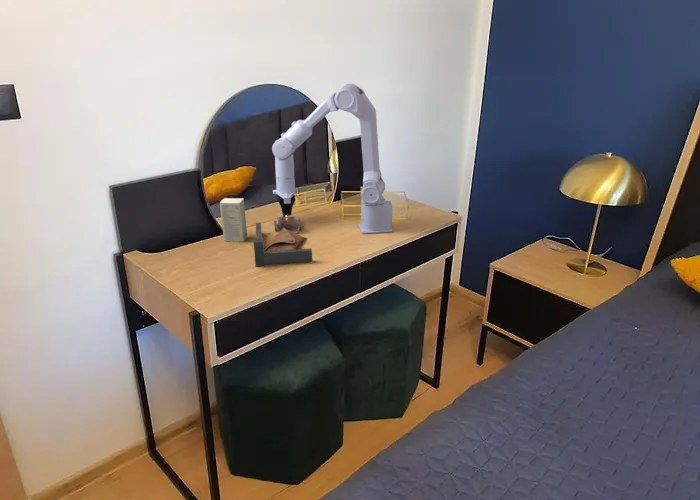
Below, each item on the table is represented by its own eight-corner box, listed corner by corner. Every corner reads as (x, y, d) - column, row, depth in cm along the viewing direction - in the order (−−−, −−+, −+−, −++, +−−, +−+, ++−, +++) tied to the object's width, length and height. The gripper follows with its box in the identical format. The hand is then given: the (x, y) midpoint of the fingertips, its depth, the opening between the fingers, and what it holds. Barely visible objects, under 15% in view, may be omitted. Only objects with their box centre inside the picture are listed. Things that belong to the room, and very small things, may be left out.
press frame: (303, 222, 182) (302, 202, 179) (312, 263, 154) (311, 239, 151) (254, 225, 180) (253, 204, 177) (255, 266, 151) (253, 242, 149)
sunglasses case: (292, 262, 154) (279, 241, 152) (272, 272, 156) (258, 252, 155) (307, 237, 170) (296, 218, 169) (288, 247, 173) (277, 229, 171)
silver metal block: (298, 229, 176) (297, 213, 174) (298, 232, 173) (298, 216, 171) (278, 230, 175) (277, 214, 173) (279, 233, 172) (278, 217, 170)
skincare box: (247, 236, 171) (244, 198, 166) (243, 242, 167) (240, 203, 162) (227, 235, 172) (223, 197, 167) (222, 241, 168) (219, 202, 163)
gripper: (271, 171, 181) (273, 211, 187) (272, 184, 168) (275, 226, 174) (293, 170, 182) (295, 210, 188) (296, 183, 169) (298, 225, 175)
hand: (287, 218), depth 181 cm, fingers closed
